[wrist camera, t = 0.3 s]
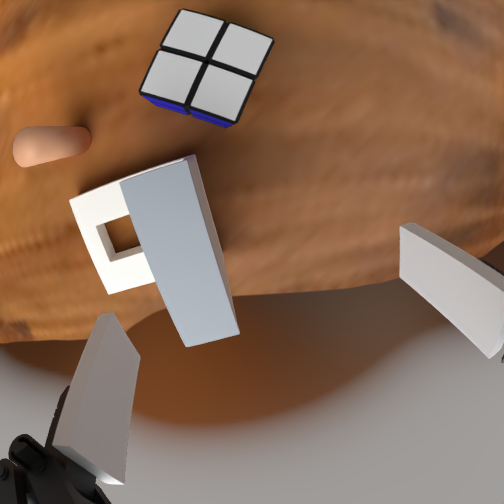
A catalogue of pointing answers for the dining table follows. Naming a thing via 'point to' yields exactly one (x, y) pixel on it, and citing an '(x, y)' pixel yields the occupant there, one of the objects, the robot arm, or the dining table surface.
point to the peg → (49, 144)
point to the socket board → (163, 245)
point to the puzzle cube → (206, 67)
